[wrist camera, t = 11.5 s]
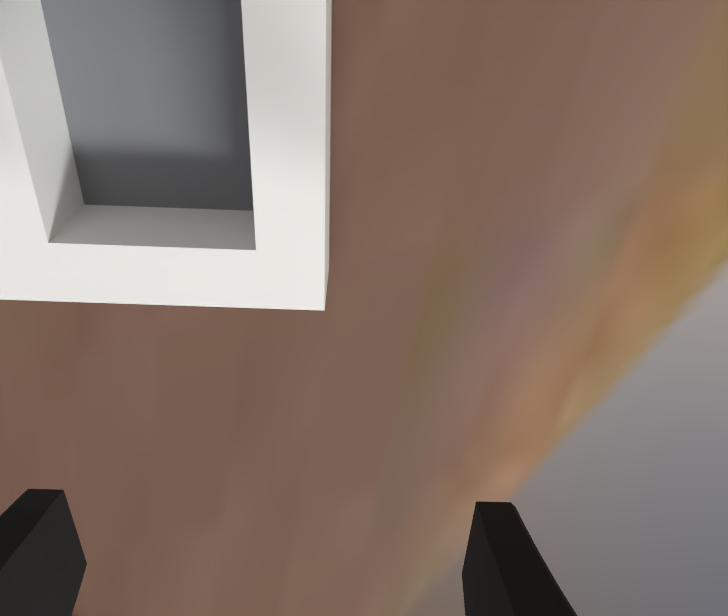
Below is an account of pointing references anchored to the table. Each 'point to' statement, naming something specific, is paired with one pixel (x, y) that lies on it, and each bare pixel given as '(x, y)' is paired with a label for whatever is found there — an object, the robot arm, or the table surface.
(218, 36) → the white frame
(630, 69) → the table surface
